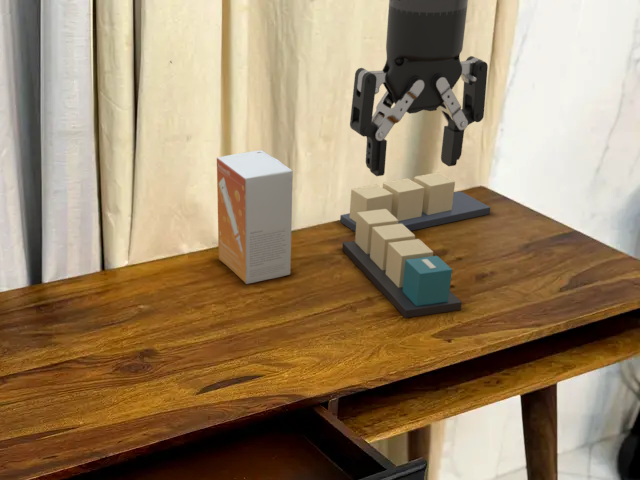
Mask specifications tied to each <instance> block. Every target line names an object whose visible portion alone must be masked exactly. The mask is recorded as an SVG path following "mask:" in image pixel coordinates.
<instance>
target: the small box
mask: <svg viewBox="0 0 640 480" xmlns="http://www.w3.org/2000/svg"><path fill="white" fill-rule="evenodd" d="M293 172H294V171H293V170H292V169H291V168H290V167H288V166H287V165H286V164H284V163H283V162H281V160H279V159H277V158H275V157H273V156H272V155H270V154H269V153H267V152H265V150H261V149H260V150H252V151H245V152H239V153H234V154H228V155H222V156H218V157H216V181H217V182H216V185H217V186H216V188H217V193H216V194H217V228H218V229H217V241H218V242H217V243H218V245H217V248H218V249H217V251H218V260H219V261H220V262H222V263H223V264H224V265H226V267H227V268H229V269H230V271H232V272H233V273H234V274H235V275H236V276H237V277H238V278H239V279H240V280H241V281H243V283H244V284H246V285H249V284H254V283H259V282H263V281H268V280H273V279H277V278H282V277H285V276H289V275H291V273H292V272H291V265H292V264H291V263H292V262H291V261H292V224H293V223H292V222H293V221H292V219H293V182H294V181H293V177H294V176H293Z"/></svg>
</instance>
